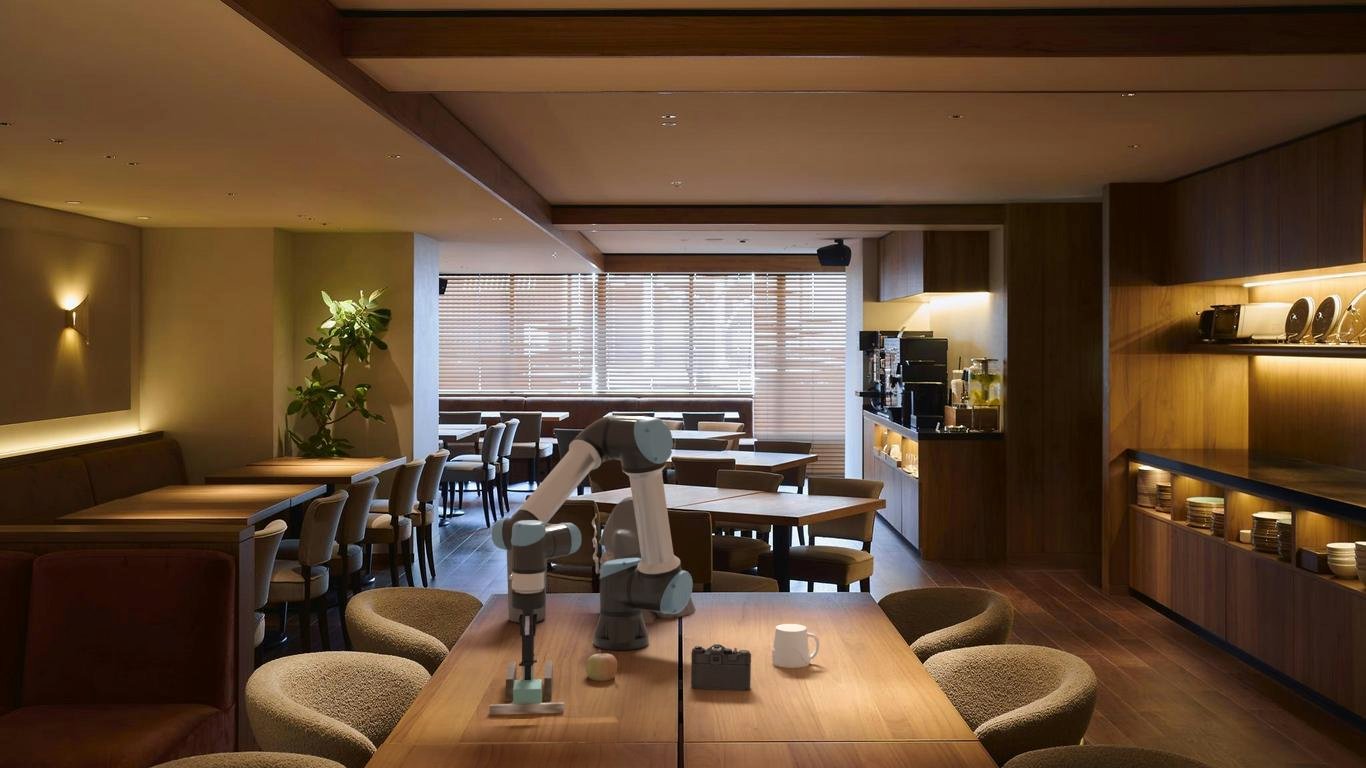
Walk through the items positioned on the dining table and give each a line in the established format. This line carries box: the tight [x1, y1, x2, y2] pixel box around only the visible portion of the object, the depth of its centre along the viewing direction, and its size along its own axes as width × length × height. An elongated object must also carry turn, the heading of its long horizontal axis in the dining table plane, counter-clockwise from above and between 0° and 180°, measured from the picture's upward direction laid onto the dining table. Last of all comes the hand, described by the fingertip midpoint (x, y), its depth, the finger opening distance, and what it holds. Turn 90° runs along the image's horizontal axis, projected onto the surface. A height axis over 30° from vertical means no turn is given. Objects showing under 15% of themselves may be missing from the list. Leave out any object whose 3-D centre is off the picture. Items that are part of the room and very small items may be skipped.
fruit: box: [585, 648, 618, 682], centre depth 261 cm, size 8×7×8 cm
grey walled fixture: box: [489, 660, 565, 720], centre depth 246 cm, size 16×23×6 cm
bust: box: [591, 496, 697, 624], centre depth 334 cm, size 34×34×35 cm
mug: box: [771, 623, 820, 669], centre depth 277 cm, size 12×9×8 cm
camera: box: [690, 643, 752, 692], centre depth 259 cm, size 14×11×10 cm
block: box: [512, 678, 543, 704], centre depth 239 cm, size 6×7×5 cm
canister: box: [506, 502, 548, 624], centre depth 321 cm, size 13×13×35 cm
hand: (527, 692), depth 244 cm, fingers closed
